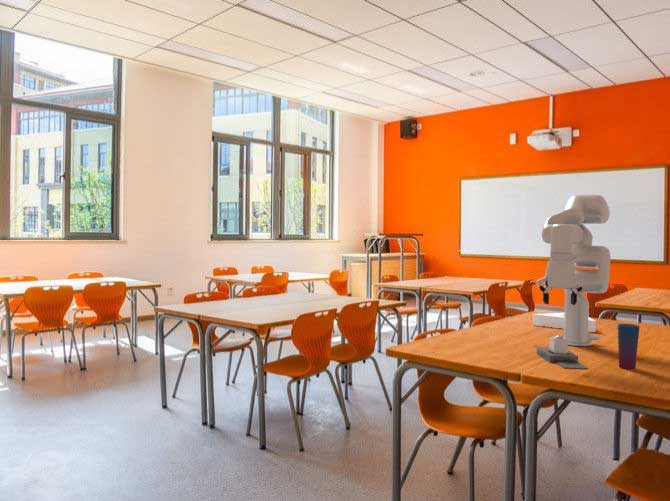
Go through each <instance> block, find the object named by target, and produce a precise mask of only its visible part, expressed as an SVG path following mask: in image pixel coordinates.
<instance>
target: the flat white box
mask: <svg viewBox="0 0 670 501" xmlns="http://www.w3.org/2000/svg"><path fill="white" fill-rule="evenodd" d="M534 325H535V327H542V326H545V327H544V328H550V327H552V328H551V329H558V328H561V329H560V330H564V312H559V313H557V312H555V313H553V312H551V313H533V314H532V326H534ZM596 325H597V321H596V320H595V319H593V318H591V317H590V316H589V321H588V333H591V332H596V330H597V329H596V328H597V327H596Z"/></svg>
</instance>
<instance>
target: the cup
mask: <svg viewBox="0 0 670 501" xmlns="http://www.w3.org/2000/svg"><path fill="white" fill-rule="evenodd" d="M639 335H640V325H638V324H633V323H624V322H623V323H617V342H618V346H617V348H618V367H619V368H620V369H623V370H624V369H625V370H635V369H636V365H637V364H636V362H637V354H638V344H639V337H640V336H639Z"/></svg>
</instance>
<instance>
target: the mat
mask: <svg viewBox="0 0 670 501" xmlns="http://www.w3.org/2000/svg"><path fill="white" fill-rule="evenodd" d="M555 363H556V364H557V365H559V366H560V367H561V368H563V369H565V368H575V370H576V368H577V370H588V369H589V368H588V367H587V366H585V364H582V363H580V362H578V363H575V362H555Z"/></svg>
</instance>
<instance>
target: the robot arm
mask: <svg viewBox="0 0 670 501" xmlns="http://www.w3.org/2000/svg"><path fill="white" fill-rule="evenodd" d="M609 218H610V208H609V205H608V203H607V201H606V199H605V198H604V197H603V196H602V195H599V194H579V195H578V194H576V195H573V196H570V198H568V200H567V201H566V204H565V207H564V208H563V210H562V211H560V212H558V213H555V214H553V215H551V216H549V217H548V218H547V219H546V221H545V223H544V224H543V226H542V230H541V238H542V240H543V242H544V243H545V244H550V252H549V253H550V255H549V260H548V261H547V262H546V263H547V264H546V268H545V274H544V276H543V277H541V278H540V279H537V280H536V281H535V283H536V285H537V288H538V289H539V290H540V291H541V292H542V302H543V303H544V305H549V303H550V293H549V291H551V289H559V290H560V289H563V290H564V312H563V313H564V329H563V337H565V338H567V339H568V346H575V347H590V346H592V344H593V342H592V341H600V340H601V336H600V335H594V334H590V332H588V321H589V317H590V315H589V314H590V312H589V311H590V303H589V301H588V299H587V297H586V296H585V295H584V293H589V294H590V293H591V294H604V293H606V292H607V291H608V289H609V284H610V283H609V282H610V272H611V271H610V269H611V252H610V249H609V248H608V247H607V246H604V245H593V233H592V231H591V230H590V229H588V227H587V226H585V224H588V225H589V224H591V225H593V224H594V225H596V224H597V225H601V224H605V223H607V222H608V221H609ZM578 268H579V269H578ZM580 268H581V269H580ZM582 268H583V269H582ZM584 268H586V269H584ZM588 268H589V269H588ZM595 269H596V270H595ZM542 283H544V286H543V284H542Z"/></svg>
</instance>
